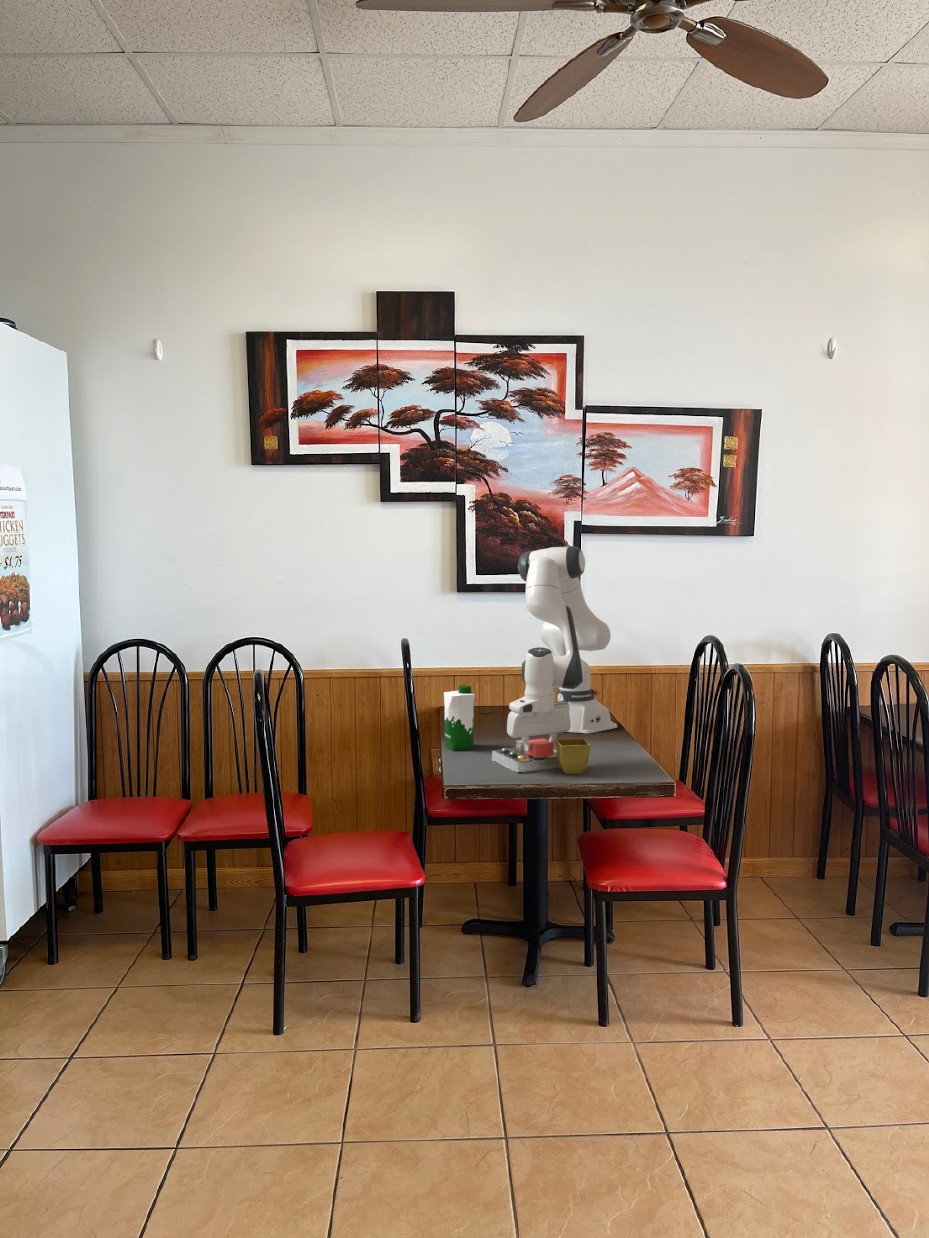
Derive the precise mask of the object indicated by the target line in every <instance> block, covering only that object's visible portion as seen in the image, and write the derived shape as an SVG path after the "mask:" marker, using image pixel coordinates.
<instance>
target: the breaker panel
mask: <svg viewBox="0 0 929 1238" xmlns="http://www.w3.org/2000/svg"><path fill="white" fill-rule="evenodd" d="M494 761H496V762H498V763H499V764H498V763H497V764H498V765H500V764H501V765H500V766H502V765H503V766H502V767H503V768H504V767H505V768H506V769H508V768H509V769H508V770H510V771H512V772H514V771H516V772H522V771H530V772H536V771H542V770H549V769H550V770H551V769H557V767H558V768H561V766H560V763H559V761H558V757H557V750H556V748H555V749H554V748H553V755H552V756H545V757H542V758H535V757H533V756H531V755H529V754H526V750H525V744H524V742H523V740H522V739H517V740H515V746H514V747H510V748H508V747H501V748H500V749H495V750H491V762H494ZM496 762H495V763H496ZM516 772H515V773H516Z"/></svg>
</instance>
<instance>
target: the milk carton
mask: <svg viewBox="0 0 929 1238" xmlns="http://www.w3.org/2000/svg"><path fill="white" fill-rule="evenodd" d="M475 695H476V694H475V693H473V692H472V686H471V685H468V684H464V685H463V684H462V685H461V684H460V685H458V690H451V691H444V692H443V703H444V704H443V705H444V743H445V745H444V746H445V747H446V748H447V749H450V750H451V751H453V752H459V751H464V750H473V749H474V748H475V747H474V741H475V740H474V739H475V738H474V726H475V725H474V706H475V705H474V704H475Z"/></svg>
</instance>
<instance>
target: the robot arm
mask: <svg viewBox="0 0 929 1238" xmlns="http://www.w3.org/2000/svg"><path fill="white" fill-rule="evenodd" d="M517 568H518V573H519V576H520V578H521V579H522V580H523V581H525V605H526V608H527V609H526V610H528V612H529V613H530V614H531V615H532V616H534V618H536V619H538V620H540V621H543V623H542V625H541V627H540V637H541V640H542V643H543V644H544V645H545V646H546V647H547V648H546V647H541V646H540V647H538V646H537V647H533V648H530V649H528V650H527V652H526V654H525V655H526V657H525V660H524V661H523V662H522V663H521V681H522V682H523V683H524V684H525V690H524V696H522V697H520V698H518V699H516V700H513V701H511V702H509V705H508V706H509V707H508V708H509V710H511V711H509V712H508V715H507V721H506V732H507V733H506V734H508V736H509V737H511V738H513V739H518V738H521V740H523V742H524V744H525V750H526V751H531V750H532V745H531V744H529V742H528V740H530V737H533V736H535V737H536V736H541V735H549V736H550V737H549V739H548V741H550V742H553V748H554V743H555V742H556V739H557V737H558V733H565V732H567V733H578V734H579V733H580V734H581V733H582V734H593V733H599V732H603V731H607V730H612V729H616V728H617V729H618V724H617V723H616V722H613V721H612V720H611V714H610V713H611V712H610V710H609V709H608V708H607V707H606V706H604V705H603V704H602V703H601V702H600V701H598V700H597V699H596V698H595V696H597V697H599V696H600V694H601V691H600V689H593V688H591V680H592V679H591V667H590V665H589V664H588V663H587V662H586V661H585V660H583V659H582V658H581V655H580V651H584V652H585V651H587V652H593V651H601V650H604V649H605V648H607V646H609V643H610V642H611V641H610V640H611V637H612V636H611V630H610V628H609V625H608V624H607V623H606V622H605V621H604V620H601V619H600V618H598V616H596V614H594V613H593V611H592V610H591V609H590V608H589V605H588V604H587V602H586V600H585V597H584V594H583V591H582V585H581V581H580V577H581V576H582V575H583V573H584V571H585V568H586V558H585V555H584V553H583V550H582V549H580V548H579V546H573V545H572V546H571V545H568V546H552V547H548V548H544V549H543V548H541V549H536V550H528V551H526V552H523V553H522V554H521V556H520V557H519V558H518V564H517ZM554 688H557V697H556V698H557V701H556V700H555V689H554Z"/></svg>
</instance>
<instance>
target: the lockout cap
mask: <svg viewBox="0 0 929 1238" xmlns="http://www.w3.org/2000/svg"><path fill="white" fill-rule="evenodd" d="M528 742H529V744H531V745H532V750H531V751H526V754H529V755H531V756H533V757H535V758H538V757H545V756H552V755H553V749H554V747H553V742H550V741H549V739H548V740H547V739H545V738H537V739H529V740H528Z"/></svg>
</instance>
